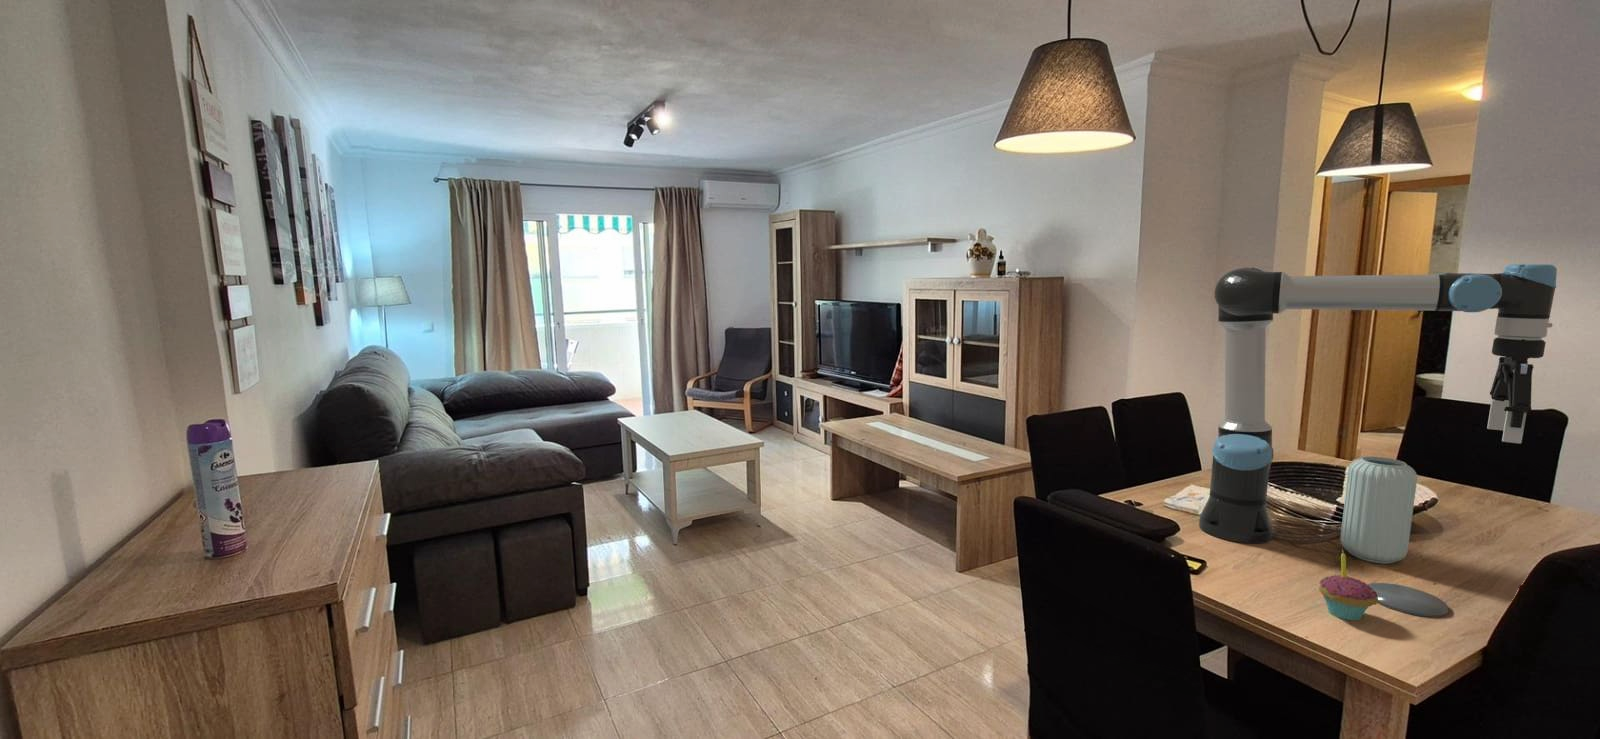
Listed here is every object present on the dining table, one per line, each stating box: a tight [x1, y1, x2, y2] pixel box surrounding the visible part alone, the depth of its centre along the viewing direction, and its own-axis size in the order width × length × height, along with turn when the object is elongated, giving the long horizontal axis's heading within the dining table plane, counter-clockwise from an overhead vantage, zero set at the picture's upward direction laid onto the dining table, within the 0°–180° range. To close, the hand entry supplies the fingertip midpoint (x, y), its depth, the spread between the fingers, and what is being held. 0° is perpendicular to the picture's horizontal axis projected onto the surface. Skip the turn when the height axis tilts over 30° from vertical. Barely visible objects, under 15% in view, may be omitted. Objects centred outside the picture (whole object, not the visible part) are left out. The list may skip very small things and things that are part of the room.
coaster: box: [1367, 582, 1449, 618], centre depth 130 cm, size 12×12×1 cm
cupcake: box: [1318, 549, 1378, 621], centre depth 124 cm, size 9×8×12 cm
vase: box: [1340, 455, 1418, 564], centre depth 148 cm, size 12×12×22 cm
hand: (1503, 435), depth 143 cm, fingers open, 13 cm apart
